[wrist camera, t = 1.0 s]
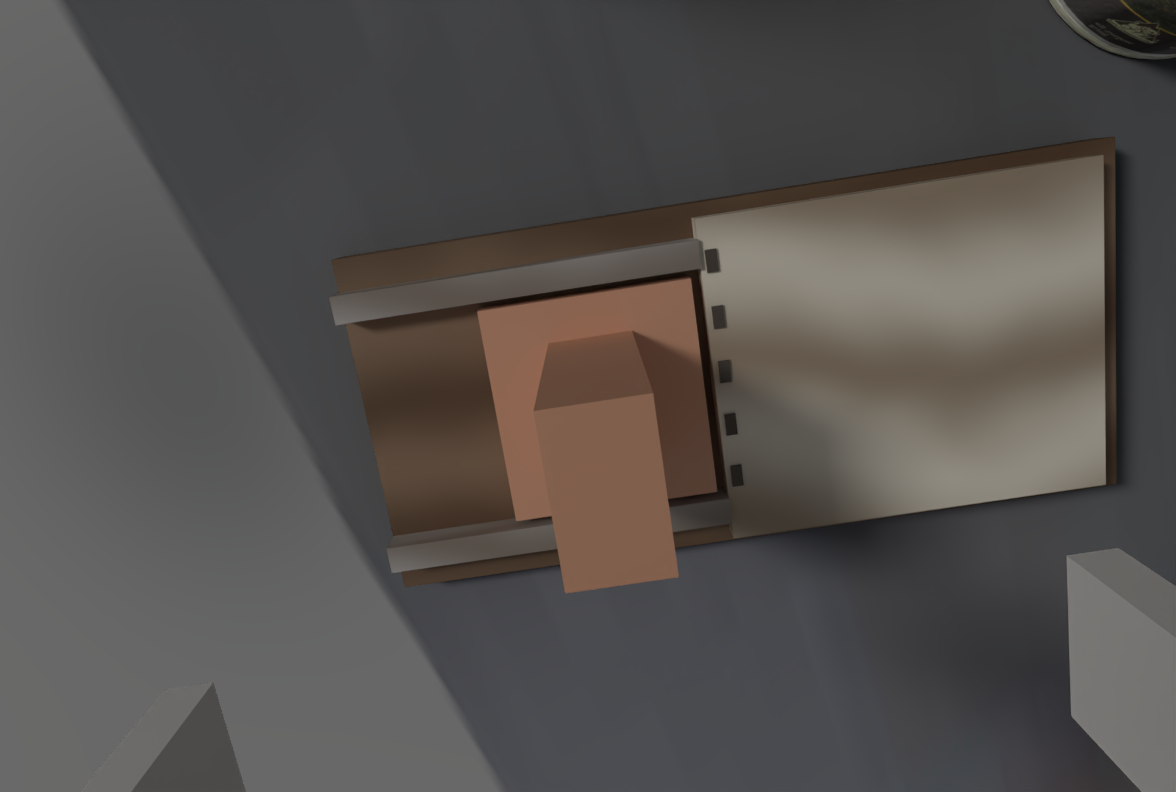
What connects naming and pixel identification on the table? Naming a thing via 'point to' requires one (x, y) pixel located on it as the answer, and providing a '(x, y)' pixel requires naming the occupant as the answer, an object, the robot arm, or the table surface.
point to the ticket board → (777, 351)
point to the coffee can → (1124, 25)
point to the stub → (602, 422)
